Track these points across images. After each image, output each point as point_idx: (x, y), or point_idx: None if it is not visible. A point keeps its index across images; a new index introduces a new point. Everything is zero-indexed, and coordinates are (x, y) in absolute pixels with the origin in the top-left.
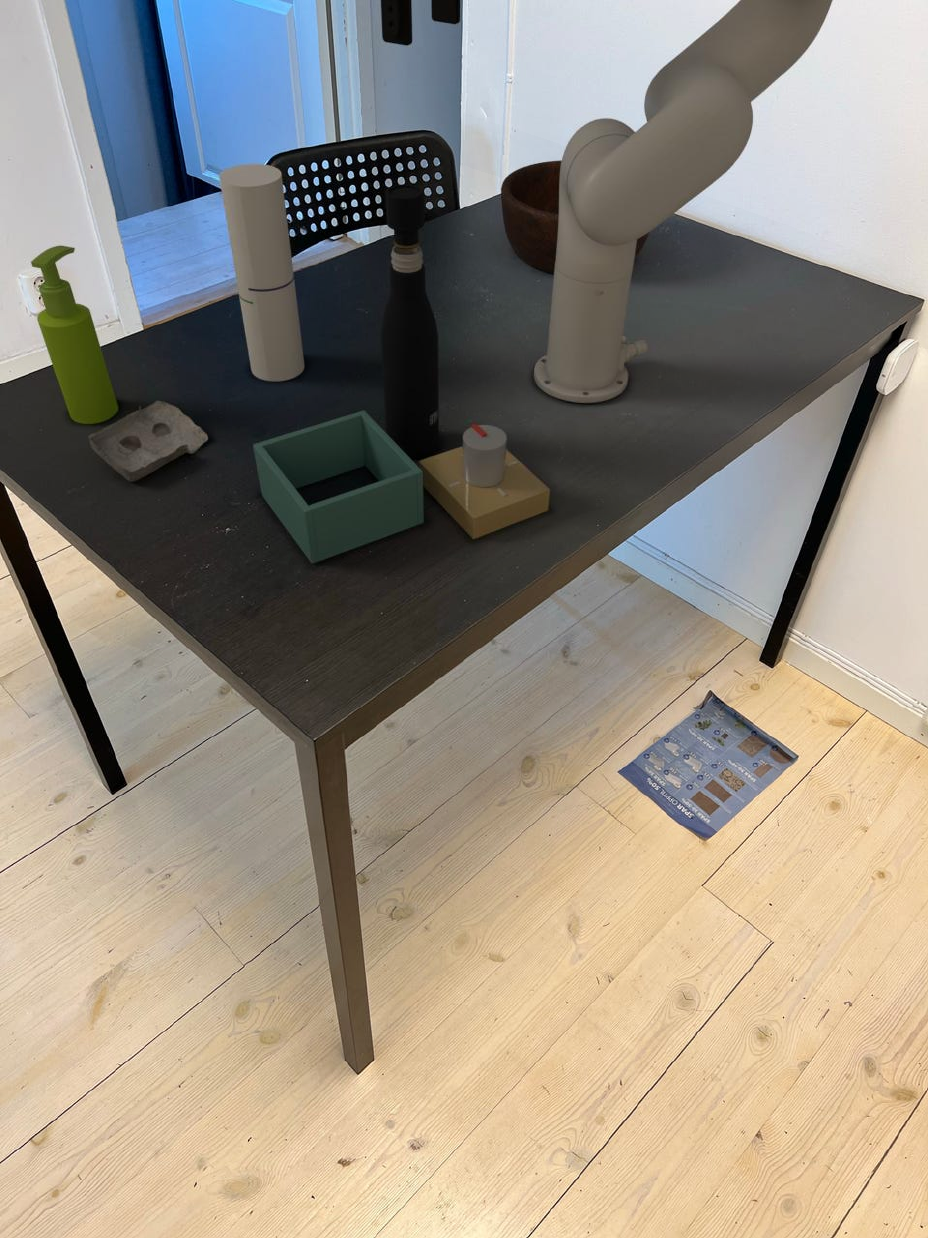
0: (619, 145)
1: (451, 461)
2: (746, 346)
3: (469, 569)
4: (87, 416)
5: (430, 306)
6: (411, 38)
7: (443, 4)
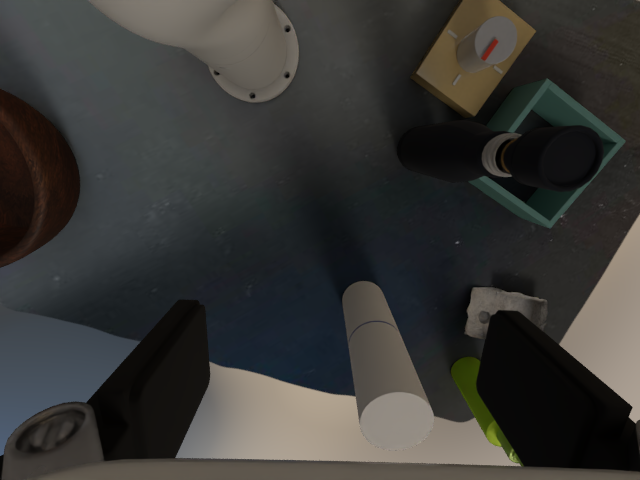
0: None
1: (465, 89)
2: None
3: (557, 23)
4: None
5: (468, 128)
6: (512, 315)
7: (189, 376)
